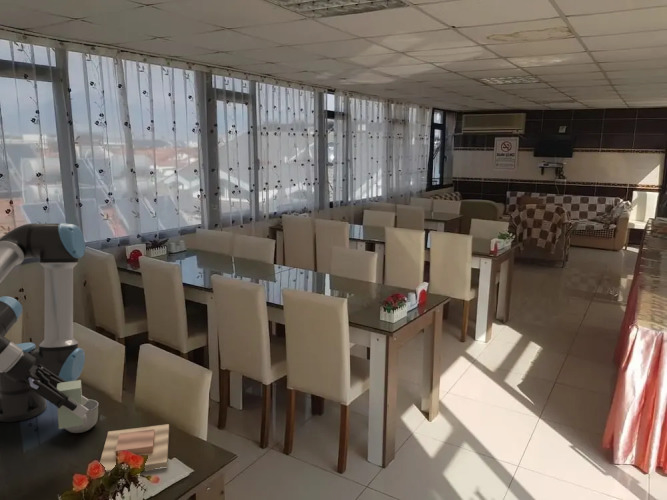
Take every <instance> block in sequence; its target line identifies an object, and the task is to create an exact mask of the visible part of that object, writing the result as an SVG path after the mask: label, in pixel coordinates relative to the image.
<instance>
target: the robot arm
mask: <svg viewBox="0 0 667 500" xmlns="http://www.w3.org/2000/svg"><path fill="white" fill-rule="evenodd" d="M85 251H86V241H85V237H84V233H83V232H82V230H81V228H80V227H79V226H77V225H76V224H73V223H64V222H61V223H26V224H23V225H20V226H18V227H16V228H14V229H12V230H10V231H8V232H7V233H5V234H4V235H3V236H1V237H0V284H1V283H2V282H3V281H4V279H5V278H6V277H7V276H8V274H10V272H11V271H12V270H13V268H14V267H16V266H18V265H20V264H22V263H23V262H24V260H26V259H32V258H33V259H35V258H36V259H38V258H39V265H41V266H42V268H43V269H44V333H43V334H44V339H43V340H42V341H41V343H39V345H38V348H36V347H37V346H36V343H35V342H22V343H14V342H12V341H11V340H10V339H8V338H7V337H6V336H5V335H6V334H7V333H8V332H9V331H10V330H11V328H12V327H13V326H14V324H16V323H17V321H18V319H19V318H20V316H21V314H22V313H23V307H22V304H21V303H20V302H19V301H18V300H17V299H16V298H14V297H11V296H5V295H4V296H0V422H3V423H5V422H6V423H13V422H20V421H25V420H28V419H31V418H35V417H36V416H39V415H40V414H41V413H43V412H44V411H46V409H47V402H49V403H51V404H52V405H54V406H56V409H57V408H60V407H61V406H63V407H65V408H66V409H68V410H69V411H71V412H73V413H74V414H76V415H77V416H79V417H80V418H82V417H83V416H84V415H85V414H86V413H87V412H88V410H89V409H87V408H86V407H84V405H85V404H86V403H87V402H88V399H89V398H87V397H85V395H82V405H81V404H80V403H78V402H77V401H75V400H74V399H72V398H70V397H66V396H65V395H64V394H63V393H61V392H60V391H59V390H58V389H57V383H62V382H69V381H76V380H79V378H80V376H81V374H82V371H83V369H84V366H85V361H86V355H85V354H86V353H85V350H84V349H83V348H81V347H79V341H77V340H76V339H75V338H74V268H75V267H76V266H77V265H78V264H79V259H80V258H82V257H83V256H84V255H85Z"/></svg>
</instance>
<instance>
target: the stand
mask: <svg viewBox="0 0 667 500" xmlns="http://www.w3.org/2000/svg"><path fill="white" fill-rule="evenodd" d="M169 438H170V424H168V423H167V424H166V423H165V424H159V425H158V424H157V425H150V426H144V427H143V426H141V427H136V428H126V429H119V430H111V431H110V430H109V431H107V436H106V439H105V443H104V446H103V450H102V453H101V457H100V460H99V464H100V463H101V464H102V465H103V466H104V467H105V470H106V472H110V471H111V470H112V469H113V468H114V467H115V465H116V454H117V452H118V451H121V450H129V451H131V452H133V453H135V454H138V455H148V459H147V461H146V463H145V467H144V468H145V470H152V469H155V468H160V467H167V468H168V464H167V461H169V460H168V459H169V443H170V442H169V440H170V439H169Z"/></svg>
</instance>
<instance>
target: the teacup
mask: <svg viewBox="0 0 667 500" xmlns="http://www.w3.org/2000/svg"><path fill="white" fill-rule="evenodd" d="M87 399H88V402H87V403H86V404H85V405H84V407H86V408H87V409H89V410H88V412H87V413H86V414H85V415H84V416H83V425H79V426H74V427H68V428H64V429H65V431H68V432H69V433H72V434H73V433H74V434H79V433H85V432H87V431H90V430H91V429H92V428H93V427H94V426H95V425H96V424H97V423H98V420H99V419H98V417H99V402H98V401H97V400H94V399H90V398H87Z"/></svg>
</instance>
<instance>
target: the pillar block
mask: <svg viewBox="0 0 667 500" xmlns="http://www.w3.org/2000/svg"><path fill="white" fill-rule="evenodd" d="M57 389H58V390H59V391H60V392H61V393H63V394H64V395H65V396H66V397H70V398H72V399H74V400H75V401H77V402H78V403H80V404H81V405H82V396H83V394H82V391H83V390H82V380H81V379H77V380H76V381H69V382H62V383H57ZM56 409H57V422H58V430H63V429H65V428H68V427H74V426H79V425H83V417H82V418H80V417H79V416H77V415H76V414H74V413H73V412H71V411H69V410H68V409H66V408H65V407H63V406H61V407H60V408H57V407H56Z"/></svg>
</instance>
